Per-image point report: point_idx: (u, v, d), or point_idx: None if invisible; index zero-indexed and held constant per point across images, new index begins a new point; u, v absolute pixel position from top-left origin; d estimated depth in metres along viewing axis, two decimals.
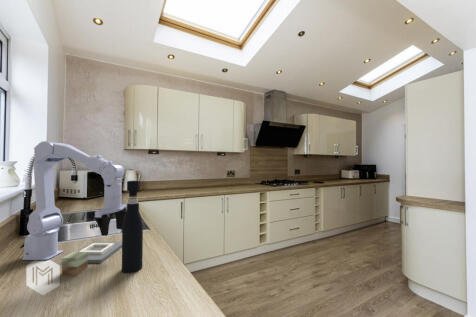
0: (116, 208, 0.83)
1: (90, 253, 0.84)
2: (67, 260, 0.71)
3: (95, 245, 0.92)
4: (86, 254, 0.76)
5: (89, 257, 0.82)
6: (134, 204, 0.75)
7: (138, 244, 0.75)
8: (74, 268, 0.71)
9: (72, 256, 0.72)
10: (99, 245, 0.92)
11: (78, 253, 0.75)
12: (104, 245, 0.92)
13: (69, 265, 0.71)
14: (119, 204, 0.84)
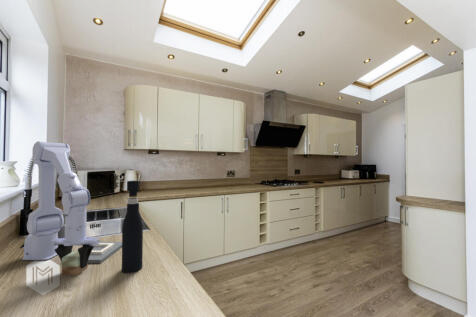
0: (65, 242, 0.71)
1: None
2: (67, 260, 0.71)
3: None
4: None
5: (89, 257, 0.82)
6: (134, 204, 0.75)
7: (138, 244, 0.75)
8: (74, 268, 0.71)
9: (72, 256, 0.72)
10: (99, 245, 0.92)
11: (78, 253, 0.75)
12: (104, 245, 0.92)
13: (69, 265, 0.71)
14: (69, 238, 0.71)
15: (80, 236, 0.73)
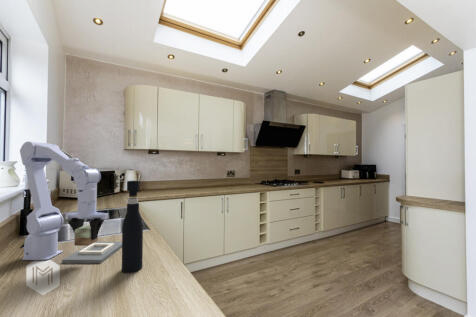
0: (78, 215, 0.79)
1: (90, 253, 0.84)
2: (79, 231, 0.78)
3: (95, 245, 0.92)
4: None
5: (89, 257, 0.82)
6: (134, 204, 0.75)
7: (138, 244, 0.75)
8: (85, 239, 0.78)
9: (83, 228, 0.79)
10: (99, 245, 0.92)
11: (89, 226, 0.82)
12: (104, 245, 0.92)
13: (81, 236, 0.78)
14: (81, 211, 0.78)
15: (91, 210, 0.80)
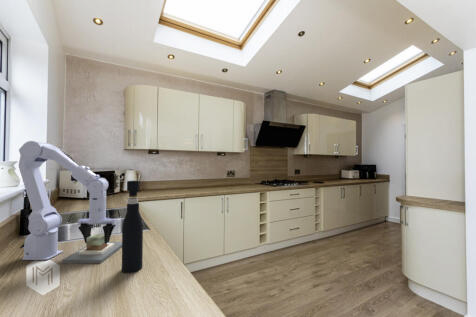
0: (90, 221, 0.86)
1: (90, 253, 0.84)
2: (91, 240, 0.86)
3: None
4: None
5: (89, 257, 0.82)
6: (134, 204, 0.75)
7: (138, 244, 0.75)
8: (96, 247, 0.86)
9: (94, 237, 0.87)
10: None
11: (99, 234, 0.90)
12: None
13: (92, 244, 0.86)
14: (93, 217, 0.86)
15: (102, 216, 0.88)
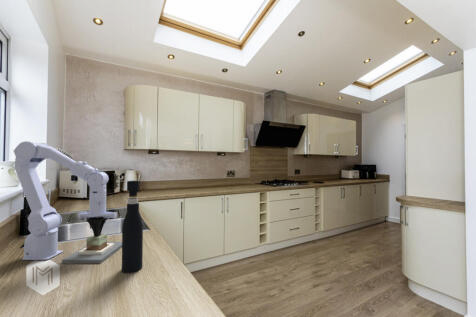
0: (90, 214, 0.86)
1: (90, 253, 0.84)
2: (91, 240, 0.86)
3: None
4: (105, 236, 0.90)
5: (89, 257, 0.82)
6: (134, 204, 0.75)
7: (138, 244, 0.75)
8: (96, 247, 0.86)
9: (94, 237, 0.87)
10: None
11: None
12: None
13: (92, 244, 0.86)
14: (93, 211, 0.86)
15: (102, 210, 0.88)
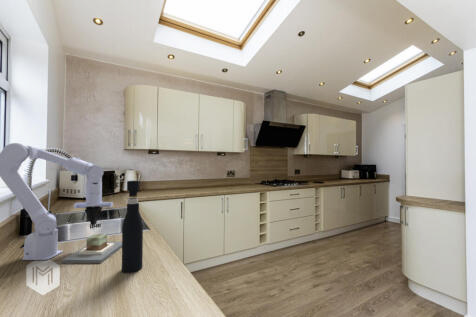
0: (87, 203, 0.93)
1: (90, 253, 0.84)
2: (91, 240, 0.86)
3: None
4: (105, 236, 0.90)
5: (89, 257, 0.82)
6: (134, 204, 0.75)
7: (138, 244, 0.75)
8: (96, 247, 0.86)
9: (94, 237, 0.87)
10: None
11: (99, 234, 0.90)
12: None
13: (92, 244, 0.86)
14: (91, 201, 0.93)
15: (99, 200, 0.95)
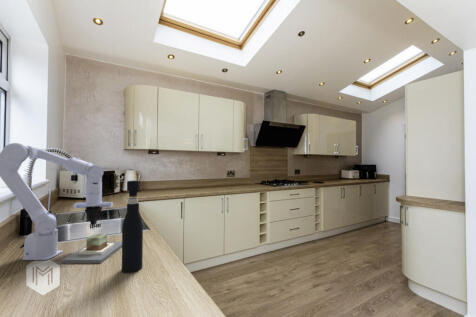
0: (87, 203, 0.93)
1: (90, 253, 0.84)
2: (91, 240, 0.86)
3: None
4: (105, 236, 0.90)
5: (89, 257, 0.82)
6: (134, 204, 0.75)
7: (138, 244, 0.75)
8: (96, 247, 0.86)
9: (94, 237, 0.87)
10: None
11: (99, 234, 0.90)
12: None
13: (92, 244, 0.86)
14: (91, 201, 0.93)
15: (99, 200, 0.95)
